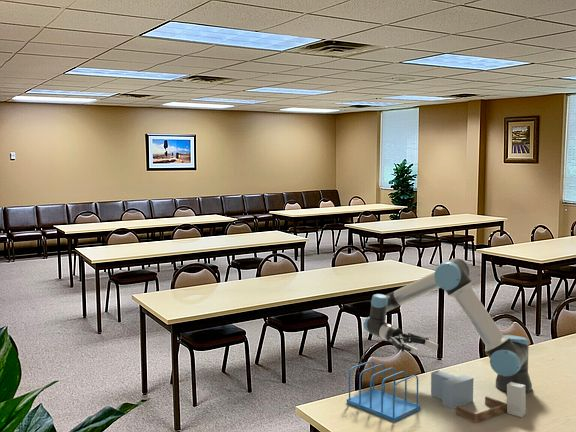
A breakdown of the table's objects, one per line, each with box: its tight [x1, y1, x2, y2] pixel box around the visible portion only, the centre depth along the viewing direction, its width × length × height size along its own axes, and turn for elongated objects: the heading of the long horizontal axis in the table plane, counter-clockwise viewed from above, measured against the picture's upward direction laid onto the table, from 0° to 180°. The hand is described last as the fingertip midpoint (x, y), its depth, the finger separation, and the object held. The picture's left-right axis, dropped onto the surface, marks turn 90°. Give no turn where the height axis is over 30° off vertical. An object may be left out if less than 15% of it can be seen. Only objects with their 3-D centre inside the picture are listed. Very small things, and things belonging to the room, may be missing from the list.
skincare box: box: [506, 382, 527, 418], centre depth 230 cm, size 6×4×12 cm
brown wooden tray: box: [455, 395, 507, 424], centre depth 232 cm, size 19×10×3 cm, turn 124°
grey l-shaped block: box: [430, 369, 474, 409], centre depth 246 cm, size 13×15×10 cm
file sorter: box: [346, 360, 421, 423], centre depth 239 cm, size 25×17×15 cm
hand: (427, 349), depth 255 cm, fingers open, 13 cm apart
